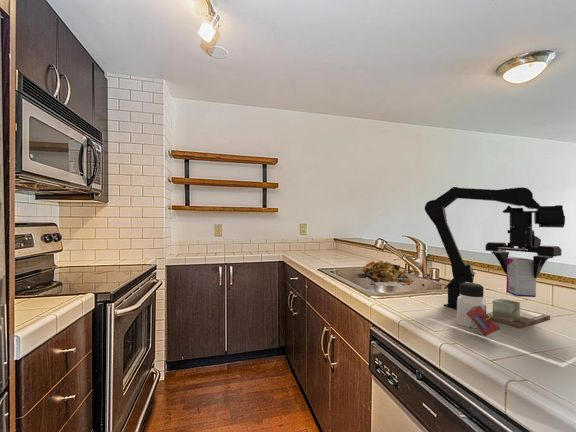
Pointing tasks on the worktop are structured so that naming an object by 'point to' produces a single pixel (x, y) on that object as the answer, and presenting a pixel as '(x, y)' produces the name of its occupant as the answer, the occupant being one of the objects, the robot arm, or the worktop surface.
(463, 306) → the medicine bottle
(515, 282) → the supplement box
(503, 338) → the worktop surface
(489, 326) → the geometric puzzle
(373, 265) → the brown irregular low mound
